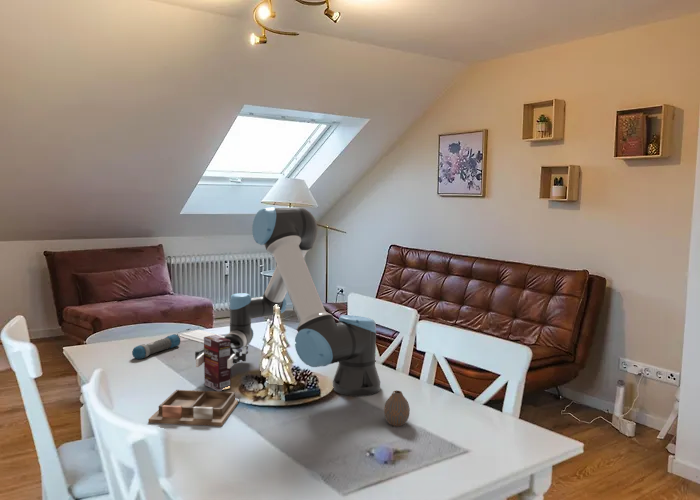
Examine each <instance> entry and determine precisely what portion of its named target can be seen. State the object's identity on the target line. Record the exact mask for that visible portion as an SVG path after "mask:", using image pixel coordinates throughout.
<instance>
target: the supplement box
mask: <svg viewBox="0 0 700 500" xmlns="http://www.w3.org/2000/svg"><path fill="white" fill-rule="evenodd" d="M217 335H218V334H217ZM217 335H211V336H207V337H204V343H203V348H204V363H203V367H204V373H203V374H204V386H206V387H209V388H210V389H212V390H213V391H214V390H215V391H217V392H223V391H222V389H223V388H225V387H228V386H231V387H232V369H231V368H232V367H231V368H227V360H228V359H229V358H230V357H231V343H230V340H229V339H226V338H223V337H220V336H217Z"/></svg>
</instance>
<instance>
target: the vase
mask: <svg viewBox="0 0 700 500" xmlns="http://www.w3.org/2000/svg"><path fill="white" fill-rule="evenodd" d="M403 394H404V393H403V392H402V390H394V391H392V393H391V395H390V396H389V397H388V398H387V400H386V401H385V403H384V407H383V408H384V409H383V413H384V417H385V420H386V422H388V424H390V425H391V426H395V427H400V426H403V425H405V424H406V423H407V422H408V420H409V417H410V410H411V409H410V405H409V402H408V400H407V398H406V397H405V396H404V395H403Z"/></svg>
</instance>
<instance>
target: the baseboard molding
mask: <svg viewBox="0 0 700 500" xmlns="http://www.w3.org/2000/svg"><path fill="white" fill-rule="evenodd" d="M190 330H191V328H187V329H186V330H185V332H184V330H183V331H181V332H182V333H181V334H179V333H176V335H178V336H179V337H180V338H184V339H187V340H191V341H194V342H197V343H201V344H204V337H207V336H211V335H217V336H220V337H223V338H224V337H225V336H226V335H225V336H224V335H220V334H217V333H213V332H210V331H206V330H201V329H200V327H197V328H195V329H194V330H192V331H190ZM186 331H187V332H186Z"/></svg>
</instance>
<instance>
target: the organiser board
mask: <svg viewBox="0 0 700 500" xmlns="http://www.w3.org/2000/svg"><path fill="white" fill-rule="evenodd" d="M235 398H236V392H235V391H220V392H218V391H216V390H215V391H214V390H213V391H211V390H191V389H190V390H188V389H176V390H174V391H173V393H171V394H170V395H169V396H168V397H167V398H166V399H165V400H164V401H163V402H162V403H161V404H159V406H158V410H156V411H155V412H154V413H153V414H152V415H151V416H150V417H149V418H148V419H147V420H148V423H149V424H165V425H166V424H169V425H171V424H172V425H188V426H189V425H191V426H209V427H210V426H212V427H213V426H215V427H222V426H223V425H224V424H225V422H226V421H227V419H228V418H229V417H230V415H231V413H232V412H233V411H234V410H235V408H236V407H237V406H236V405H238V404H239V403H238V401H237V400H235Z"/></svg>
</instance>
